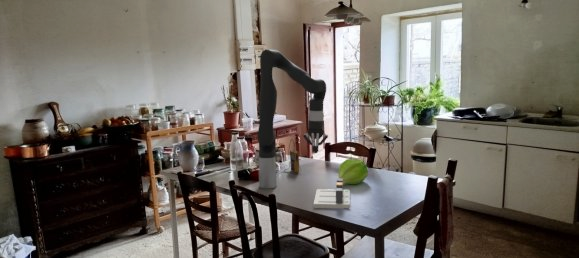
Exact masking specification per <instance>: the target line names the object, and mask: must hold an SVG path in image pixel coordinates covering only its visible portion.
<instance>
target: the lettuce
mask: <svg viewBox="0 0 579 258" xmlns="http://www.w3.org/2000/svg"><path fill="white" fill-rule="evenodd" d="M368 175H369V171H368V166H367V164H366V163H365V162H364V161H363V160H361V159H359V158H348V159H345V160H344V161H343V162H341V163H340V164H339V167H338V177H337V178H343V184H347V185H348V184H349V185H356V184H357V185H358V184H360V183H362V182H363V181H365V179H367V176H368Z"/></svg>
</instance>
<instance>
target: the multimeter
mask: <svg viewBox="0 0 579 258" xmlns="http://www.w3.org/2000/svg"><path fill="white" fill-rule="evenodd" d="M291 142H293V150H292V149H291V150H289V161H288V166H289V167H288V168H290V171H286V170H287V168H285V169H284V170H283V172H285V173H290V174H293V175H294V174H298V173H300V171H302V168H301V166H300V156H299V155H300V153H299V151H298V150H296V147H297V149H299V148H298V147H299V146H298V144H297V140H295V141H294V140H292V141H289V146H288V148H290V146H291ZM295 143H296V147H295ZM293 172H294V173H293Z"/></svg>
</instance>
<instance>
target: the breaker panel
mask: <svg viewBox="0 0 579 258" xmlns="http://www.w3.org/2000/svg"><path fill="white" fill-rule="evenodd" d="M350 191H351V190H350V189H343V197H342V203H336V188H335V189H332V188H331V189H328V188H326V189H325V188H320V189H319V188H317V189H316V192H315V197H314V201H313V208H314V209H344V208H351V197H350V196H351V195H350V193H351V192H350Z"/></svg>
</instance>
